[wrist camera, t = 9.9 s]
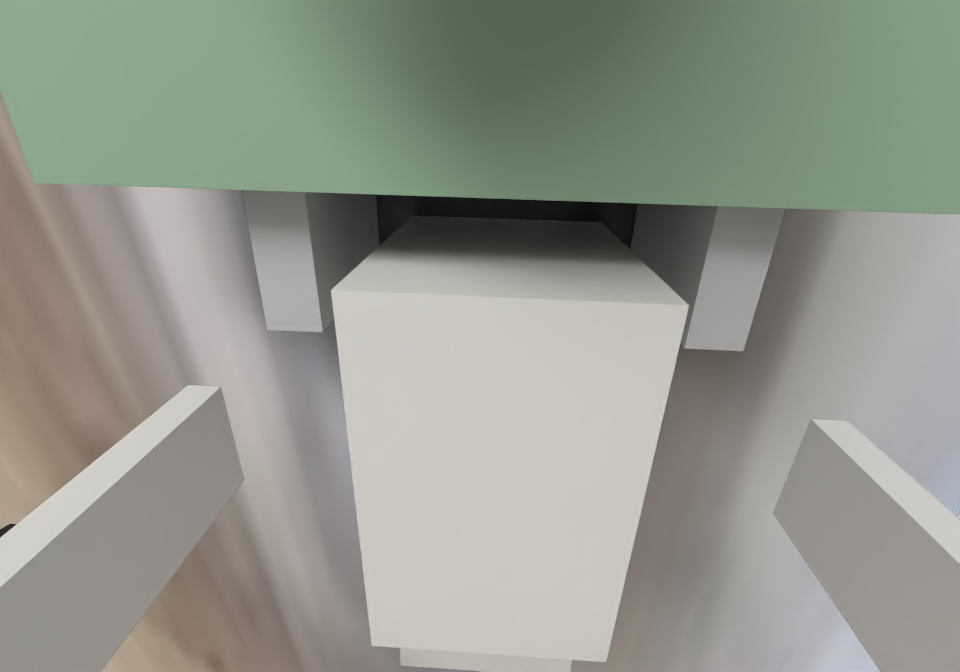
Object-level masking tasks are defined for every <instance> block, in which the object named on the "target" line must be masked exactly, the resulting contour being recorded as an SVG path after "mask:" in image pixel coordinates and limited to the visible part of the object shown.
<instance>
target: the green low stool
mask: <svg viewBox="0 0 960 672" xmlns="http://www.w3.org/2000/svg"><path fill="white" fill-rule="evenodd" d="M0 90H1V93H2V95H3V98H4V101H5V104H6V106H7V109H8V112H9V115H10V118H11V120H12V123H13V126H14V129H15V131H16V134H17V137H18V140H19V142H20V145H21V148H22V151H23V153H24V156H25V159H26V162H27V164H28V167H29V170H30V173H31V175H32V178H33V181H34V183H52V184H82V185H111V186H140V187H170V188H199V189H228V190H242V195H243V200H244V206H245V211H246V217H247V222H248V228H249V233H250V239H251V244H252V249H253V255H254V260H255V266H256V271H257V277H258V282H259V288H260V293H261V298H262V304H263V309H264V315H265V320H266V326H267V330H280V331H303V332H323V331H324V330H325V329H326V328H327V327H328V326H329V325H330V324H331V323H332V321H333V320H334V312H333V304H332V295H331V290H332V289H333V288H334V287H335V286H336V285H337V284H338V283H339V282H340V281H342V280H343V279H344V278H345V277H346V276H347V275H348V274H349V273H350V272H351V271H352V270H354V269H355V268H356V267H357V266H358V265H359V264H360V263H361V262H362V261H363V260H364V259H366V258H367V257H368V256H369V255H370V254H371V253H372V252H373V251H374V250H375V249H377V248H378V247H379V231H378V216H377V201H376V195H405V196H434V197H464V198H493V199H522V200H552V201H581V202H611V203H638V206H637V212H636V218H635V224H634V230H633V236H632V242H631V248H630V250H631V251H632V252H633V253H634V254H635V255H636V256H637V257H638V258H640V259H641V260H642V261H643V262H644V263H645V264H646V265H647V266H648V267H649V268H650V269H651V270H652V271H653V272H654V273H655V274H656V275H657V276H659V277H660V278H661V279H662V280H663V281H664V282H665V283H666V284H667V285H668V286H669V287H670V288H671V289H672V290H673V291H674V292H675V293H677V294H678V295H679V296H680V297H681V298H682V299H683V300H684V301H685V302H686V303H687V304H688V305H689V308H688V312H687V317H686V321H685V325H684V330H683V334H682V338H681V342H680V344H681V345H682V346H683V347H684V349H706V350H728V351H744V347H745V344H746V341H747V337H748V334H749V331H750V327H751V324H752V321H753V317H754V314H755V310H756V307H757V304H758V300H759V297H760V294H761V290H762V287H763V284H764V280H765V277H766V274H767V270H768V267H769V263H770V260H771V257H772V253H773V250H774V247H775V243H776V240H777V237H778V233H779V230H780V227H781V223H782V220H783V217H784V213H785V210H786V208H787V209H816V210H846V211H875V212H905V213H934V214H960V0H0Z"/></svg>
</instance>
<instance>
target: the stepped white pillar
mask: <svg viewBox="0 0 960 672" xmlns="http://www.w3.org/2000/svg"><path fill="white" fill-rule="evenodd" d="M331 295H332V304H333V312H334V321H335V330H336V339H337V347H338V356H339V365H340V374H341V382H342V391H343V400H344V408H345V417H346V426H347V435H348V443H349V452H350V461H351V470H352V478H353V487H354V496H355V505H356V513H357V522H358V531H359V540H360V548H361V557H362V566H363V575H364V583H365V592H366V601H367V610H368V618H369V627H370V636H371V645H372V646H380V647H395V648H399V650H400V663H401V666H413V667H427V668H441V669H455V670H469V671H483V672H570V670H571V664H572V660H581V661H595V662H606V660H607V656H608V652H609V647H610V643H611V639H612V634H613V630H614V626H615V622H616V617H617V613H618V609H619V604H620V600H621V596H622V591H623V587H624V583H625V579H626V574H627V570H628V566H629V561H630V557H631V553H632V549H633V544H634V540H635V536H636V531H637V527H638V523H639V518H640V514H641V510H642V506H643V501H644V497H645V493H646V488H647V484H648V480H649V476H650V471H651V467H652V463H653V458H654V454H655V450H656V446H657V441H658V437H659V433H660V428H661V424H662V420H663V415H664V411H665V407H666V403H667V398H668V394H669V390H670V385H671V381H672V377H673V373H674V368H675V364H676V360H677V355H678V351H679V347H680V342H681V338H682V334H683V330H684V325H685V321H686V317H687V312H688V308H689V305H688V304H687V303H686V302H685V301H684V300H683V299H682V298H681V297H680V296H679V295H678V294H677V293H675V292H674V291H673V290H672V289H671V288H670V287H669V286H668V285H667V284H666V283H665V282H664V281H663V280H662V279H661V278H660V277H659V276H657V275H656V274H655V273H654V272H653V271H652V270H651V269H650V268H649V267H648V266H647V265H646V264H645V263H644V262H643V261H642V260H641V259H640V258H638V257H637V256H636V255H635V254H634V253H633V252H632V251H631V250H630V249H629V248H628V247H627V246H626V245H625V244H624V243H623V242H622V241H621V240H619V239H618V238H617V237H616V236H615V235H614V234H613V233H612V232H611V231H610V230H609V229H608V228H607V227H606V226H605V225H604V224H603V223H601V222H576V221H549V220H521V219H494V218H467V217H439V216H412V217H410V218H409V219H408V220H407V221H406V222H405V223H404V224H403V225H402V226H401V227H399V228H398V229H397V230H396V231H395V232H394V233H393V234H392V235H391V236H390V237H389V238H387V239H386V240H385V241H384V242H383V243H382V244H381V245H380V246H379V247H378V248H377V249H375V250H374V251H373V252H372V253H371V254H370V255H369V256H368V257H367V258H366V259H364V260H363V261H362V262H361V263H360V264H359V265H358V266H357V267H356V268H355V269H354V270H352V271H351V272H350V273H349V274H348V275H347V276H346V277H345V278H344V279H343V280H342V281H340V282H339V283H338V284H337V285H336V286H335V287H334V288H333V289H332V290H331Z"/></svg>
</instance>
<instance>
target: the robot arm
mask: <svg viewBox="0 0 960 672" xmlns="http://www.w3.org/2000/svg"><path fill="white" fill-rule="evenodd" d="M243 481H244V476H243V472H242V469H241V465H240V461H239V457H238V453H237V449H236V445H235V441H234V437H233V433H232V429H231V425H230V421H229V417H228V413H227V409H226V405H225V401H224V397H223V393H222V390H221V387H213V386H195V385H188V386H187V387H185V388H184V389H183V390H182V391H181V392H179V393H178V394H177V395H176V396H174V397H173V398H172V399H171V400H169V401H168V402H167V403H166V404H164V405H163V406H162V407H161V408H160V409H158V410H157V411H156V412H155V413H153V414H152V415H151V416H150V417H148V418H147V419H146V420H145V421H144V422H142V423H141V424H140V425H139V426H137V427H136V428H135V429H134V430H132V431H131V432H130V433H129V434H127V435H126V436H125V437H124V438H123V439H121V440H120V441H119V442H118V443H116V444H115V445H114V446H113V447H111V448H110V449H109V450H108V451H107V452H105V453H104V454H103V455H102V456H100V457H99V458H98V459H97V460H95V461H94V462H93V463H92V464H90V465H89V466H88V467H87V468H86V469H84V470H83V471H82V472H81V473H79V474H78V475H77V476H76V477H74V478H73V479H72V480H71V481H70V482H68V483H67V484H66V485H65V486H63V487H62V488H61V489H60V490H58V491H57V492H56V493H55V494H53V495H52V496H51V497H50V498H49V499H47V500H46V501H45V502H44V503H42V504H41V505H40V506H39V507H37V508H36V509H35V510H34V511H33V512H31V513H30V514H29V515H28V516H26V517H25V518H24V519H23V520H21V521H20V522H19V523H18V524H9V525H7V526H6V527H4V528H2V529H0V672H101V671H102V670H103V668H104V667H105V666H106V664H107V663H108V662H109V660H110V659H111V658H112V656H113V655H114V654H115V652H116V651H117V650H118V648H119V647H120V646H121V644H122V643H123V642H124V640H125V639H126V638H127V636H128V635H129V634H130V632H131V631H132V630H133V628H134V627H135V626H136V624H137V623H138V622H139V620H140V619H141V618H142V616H143V615H144V614H145V612H146V611H147V610H148V608H149V607H150V606H151V604H152V603H153V601H154V600H155V599H156V597H157V596H158V595H159V593H160V592H161V591H162V589H163V588H164V587H165V585H166V584H167V583H168V581H169V580H170V579H171V577H172V576H173V575H174V573H175V572H176V571H177V569H178V568H179V567H180V565H181V564H182V563H183V561H184V560H185V559H186V557H187V556H188V555H189V553H190V552H191V551H192V549H193V548H194V547H195V545H196V544H197V543H198V541H199V540H200V539H201V537H202V536H203V535H204V533H205V532H206V530H207V529H208V528H209V526H210V525H211V524H212V522H213V521H214V520H215V518H216V517H217V516H218V514H219V513H220V512H221V510H222V509H223V508H224V506H225V505H226V504H227V502H228V501H229V500H230V498H231V497H232V496H233V494H234V493H235V492H236V490H237V489H238V488H239V486H240V485H241V484H242V482H243ZM773 514H774V515H775V517H776V518H777V520H778V521H779V523H780V524H781V526H782V527H783V529H784V530H785V532H786V533H787V535H788V536H789V538H790V539H791V541H792V542H793V543H794V545H795V546H796V548H797V549H798V551H799V552H800V554H801V555H802V557H803V558H804V560H805V561H806V563H807V564H808V566H809V567H810V569H811V570H812V571H813V573H814V574H815V576H816V577H817V579H818V580H819V582H820V583H821V585H822V586H823V588H824V589H825V591H826V592H827V594H828V595H829V596H830V598H831V599H832V601H833V602H834V604H835V605H836V607H837V608H838V610H839V611H840V613H841V614H842V616H843V617H844V619H845V620H846V622H847V623H848V624H849V626H850V627H851V629H852V630H853V632H854V633H855V635H856V636H857V638H858V639H859V641H860V642H861V644H862V645H863V647H864V648H865V650H866V651H867V652H868V654H869V655H870V657H871V658H872V660H873V661H874V663H875V664H876V666H877V667H878V669H879V670H880V672H960V519H959V518H958V517H957V516H956V515H955V514H953V513H952V512H951V511H950V510H949V509H948V508H947V507H945V506H944V505H943V504H942V503H941V502H940V501H939V500H937V499H936V498H935V497H934V496H933V495H932V494H931V493H929V492H928V491H927V490H926V489H925V488H924V487H923V486H921V485H920V484H919V483H918V482H917V481H916V480H915V479H913V478H912V477H911V476H910V475H909V474H908V473H907V472H905V471H904V470H903V469H902V468H901V467H900V466H899V465H897V464H896V463H895V462H894V461H893V460H892V459H891V458H889V457H888V456H887V455H886V454H885V453H884V452H883V451H881V450H880V449H879V448H878V447H877V446H876V445H875V444H873V443H872V442H871V441H870V440H869V439H868V438H867V437H865V436H864V435H863V434H862V433H861V432H860V431H859V430H857V429H856V428H855V427H854V426H853V425H852V424H851V423H849V422H848V421H839V420H820V419H811V421H810V423H809V426H808V428H807V430H806V433H805V435H804V438H803V440H802V443H801V445H800V448H799V450H798V453H797V455H796V458H795V460H794V462H793V465H792V467H791V470H790V472H789V475H788V477H787V480H786V482H785V485H784V487H783V490H782V492H781V494H780V497H779V499H778V502H777V504H776V507H775V509H774V512H773Z"/></svg>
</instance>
